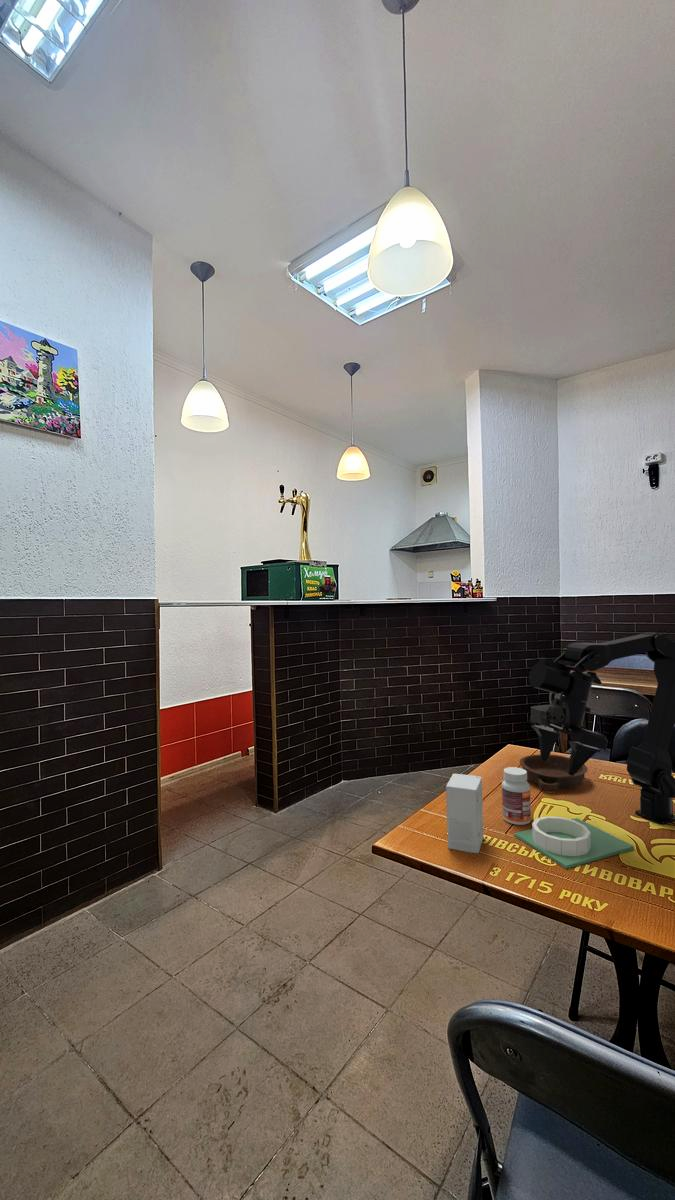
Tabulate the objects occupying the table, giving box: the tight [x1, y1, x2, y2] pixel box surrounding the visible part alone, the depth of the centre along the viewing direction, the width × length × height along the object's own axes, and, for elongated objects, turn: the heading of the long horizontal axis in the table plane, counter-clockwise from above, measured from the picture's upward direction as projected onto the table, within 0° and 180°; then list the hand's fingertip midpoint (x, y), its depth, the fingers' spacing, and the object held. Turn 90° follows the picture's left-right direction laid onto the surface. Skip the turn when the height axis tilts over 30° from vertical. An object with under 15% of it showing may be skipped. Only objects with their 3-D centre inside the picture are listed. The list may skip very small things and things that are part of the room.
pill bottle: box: [501, 766, 532, 826], centre depth 112 cm, size 6×6×11 cm
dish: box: [519, 754, 589, 791], centre depth 135 cm, size 18×22×5 cm
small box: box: [445, 773, 484, 854], centre depth 102 cm, size 8×6×13 cm
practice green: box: [513, 815, 635, 870], centre depth 101 cm, size 18×14×4 cm
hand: (556, 767), depth 106 cm, fingers open, 9 cm apart
